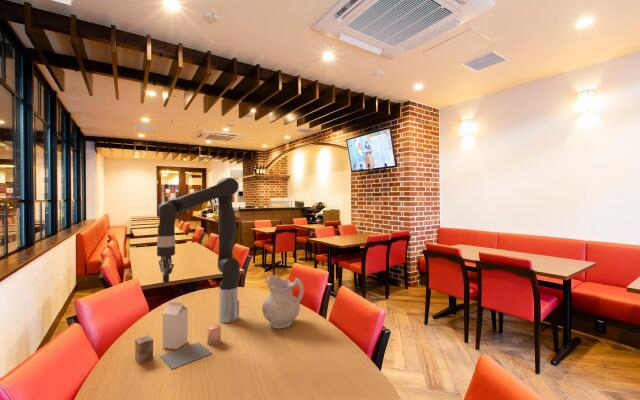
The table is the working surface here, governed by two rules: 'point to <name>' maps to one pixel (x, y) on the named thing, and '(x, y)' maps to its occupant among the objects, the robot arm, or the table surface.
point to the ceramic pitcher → (282, 302)
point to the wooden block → (143, 349)
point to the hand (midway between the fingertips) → (165, 282)
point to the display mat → (185, 355)
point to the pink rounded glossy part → (214, 335)
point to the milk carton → (175, 325)
